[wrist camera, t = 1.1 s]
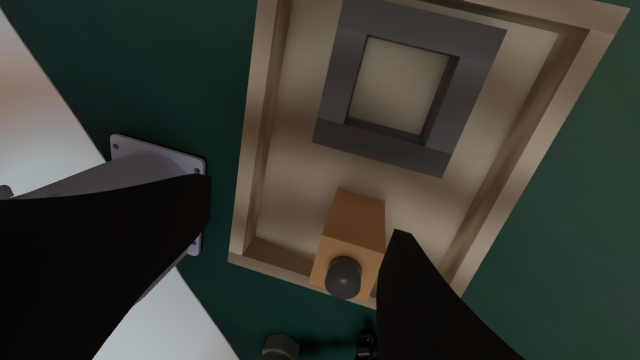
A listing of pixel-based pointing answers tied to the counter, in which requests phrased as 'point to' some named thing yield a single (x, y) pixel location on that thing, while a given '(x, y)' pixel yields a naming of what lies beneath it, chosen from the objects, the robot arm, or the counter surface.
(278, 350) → the valve
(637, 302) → the counter surface
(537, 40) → the walled box
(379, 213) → the connector
